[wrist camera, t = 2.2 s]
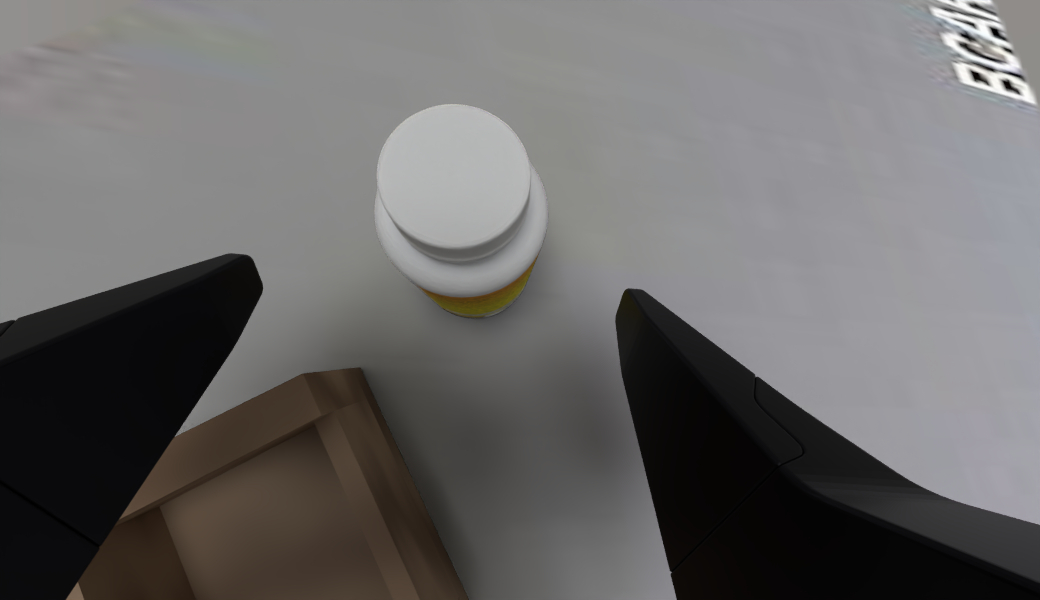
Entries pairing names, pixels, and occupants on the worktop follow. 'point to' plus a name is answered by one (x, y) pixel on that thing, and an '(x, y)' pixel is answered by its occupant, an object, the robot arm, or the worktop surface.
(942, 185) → the worktop surface
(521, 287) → the supplement bottle
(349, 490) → the open wooden box
